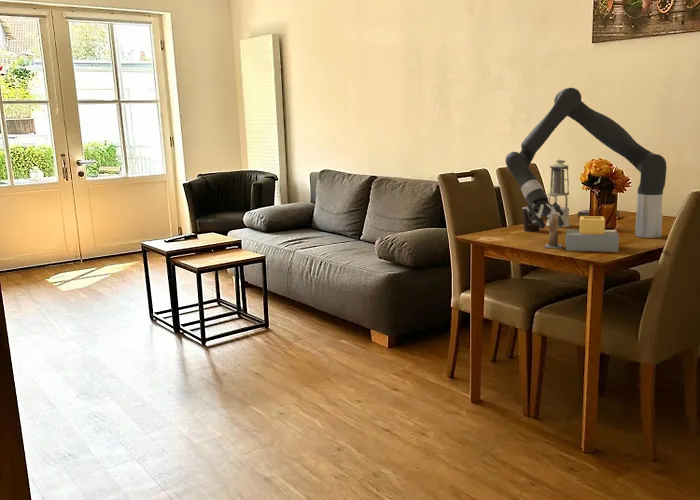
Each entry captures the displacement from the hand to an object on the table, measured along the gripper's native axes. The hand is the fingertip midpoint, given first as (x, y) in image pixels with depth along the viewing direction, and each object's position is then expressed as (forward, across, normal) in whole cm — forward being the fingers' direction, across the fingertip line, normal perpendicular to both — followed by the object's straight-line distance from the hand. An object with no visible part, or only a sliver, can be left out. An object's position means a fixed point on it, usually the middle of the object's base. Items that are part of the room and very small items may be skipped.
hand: (552, 226), depth 243 cm
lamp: (-21, +35, +32) cm, 52 cm away
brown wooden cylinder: (+6, 0, +5) cm, 7 cm away
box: (-26, +67, +38) cm, 81 cm away
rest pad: (+6, 0, +5) cm, 8 cm away
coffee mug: (-17, +17, +28) cm, 37 cm away
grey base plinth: (+12, +10, -1) cm, 16 cm away
